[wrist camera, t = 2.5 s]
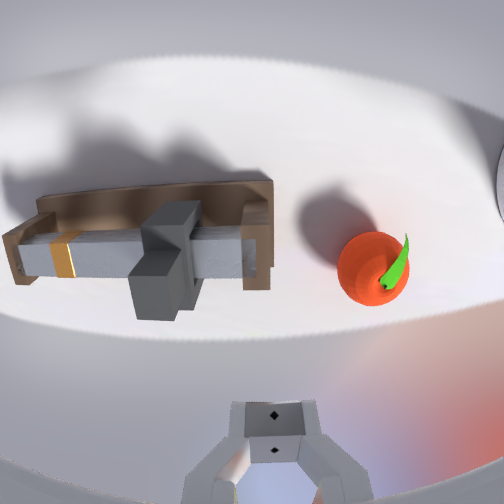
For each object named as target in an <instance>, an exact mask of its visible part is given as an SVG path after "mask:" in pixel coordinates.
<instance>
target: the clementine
mask: <svg viewBox="0 0 504 504" xmlns="http://www.w3.org/2000/svg"><path fill="white" fill-rule="evenodd" d="M408 251H409V243H408V238H407V235H406V241H405V244H404V247H402V245H401V244H400V243H399V242H398V241H397V240H396V239H395V238H393V237H392V236H390V235H388V234H385V233H383V232H377V231H373V232H365V233H362V234H360V235H357V236H355V237H354V238H353V239H351V240H350V241H349V242H348V243H347V244H346V245H345V247H344V248H343V250H342V252H341V254H340V256H339V260H338V264H337V273H338V279H339V282H340V285H341V287H342V288H343V290H344V291H345V292H346V294H347V295H348V296H349V297H350V298H351V299H353V300H354V301H356V302H358V303H361V304H363V305H366V306H379V305H383V304H385V303H388V302H390V301H392V300H393V299H395V298H396V297H397V296H398V295H399V294H400V293H401V292H402V290H403V289H404V287H405V285H406V283H407V280H408V277H409V260H408Z"/></svg>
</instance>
